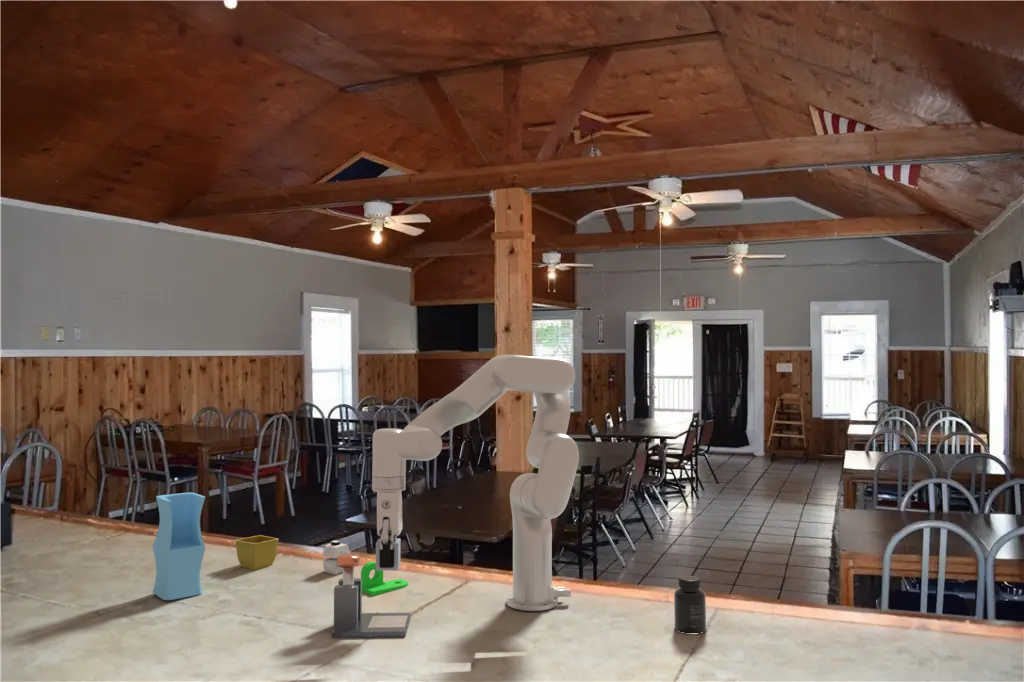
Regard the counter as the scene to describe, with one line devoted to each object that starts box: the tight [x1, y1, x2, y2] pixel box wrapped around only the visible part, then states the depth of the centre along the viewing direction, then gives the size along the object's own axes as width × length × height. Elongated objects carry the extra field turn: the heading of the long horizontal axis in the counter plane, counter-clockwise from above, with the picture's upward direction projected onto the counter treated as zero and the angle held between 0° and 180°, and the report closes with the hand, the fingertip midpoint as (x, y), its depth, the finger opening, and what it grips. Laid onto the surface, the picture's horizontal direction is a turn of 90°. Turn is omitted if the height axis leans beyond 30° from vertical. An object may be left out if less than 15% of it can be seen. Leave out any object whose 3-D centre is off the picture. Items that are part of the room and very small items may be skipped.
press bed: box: [331, 577, 412, 639], centre depth 178 cm, size 16×13×10 cm
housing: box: [375, 537, 402, 571], centre depth 178 cm, size 5×5×6 cm
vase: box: [152, 492, 206, 601], centre depth 205 cm, size 10×10×25 cm
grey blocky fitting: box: [322, 540, 351, 575], centre depth 220 cm, size 6×7×10 cm
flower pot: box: [235, 534, 279, 571], centre depth 227 cm, size 9×9×9 cm
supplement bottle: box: [673, 575, 707, 633], centre depth 175 cm, size 7×7×12 cm
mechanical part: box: [360, 561, 409, 597], centre depth 206 cm, size 12×6×8 cm, turn 130°
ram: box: [337, 553, 361, 585], centre depth 178 cm, size 5×5×12 cm
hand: (388, 563), depth 178 cm, fingers closed on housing, 4 cm apart
